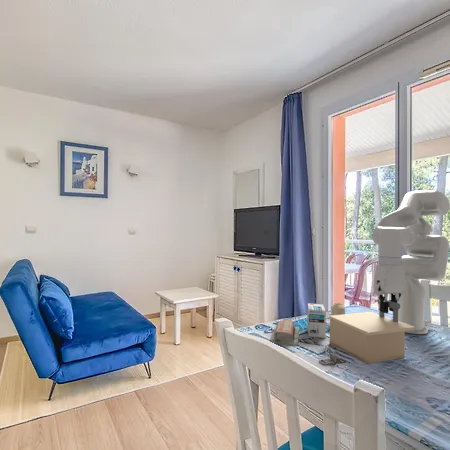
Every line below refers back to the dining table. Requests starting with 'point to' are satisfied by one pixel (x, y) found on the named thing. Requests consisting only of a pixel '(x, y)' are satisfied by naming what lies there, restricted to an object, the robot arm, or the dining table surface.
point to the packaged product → (286, 333)
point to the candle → (337, 309)
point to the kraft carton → (367, 343)
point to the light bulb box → (316, 320)
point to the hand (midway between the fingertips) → (388, 311)
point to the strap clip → (331, 359)
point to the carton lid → (374, 321)
